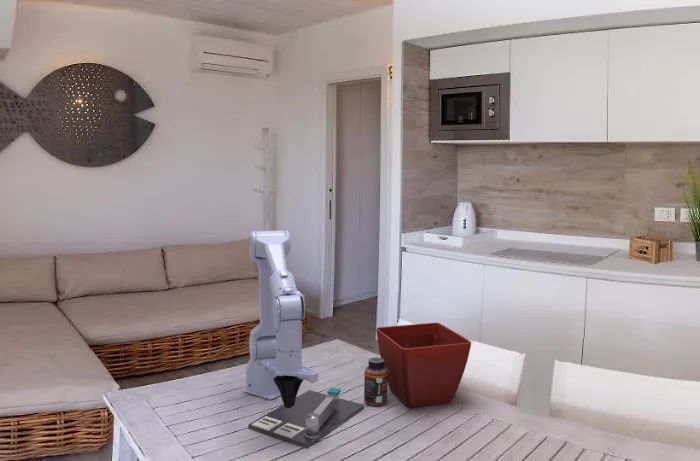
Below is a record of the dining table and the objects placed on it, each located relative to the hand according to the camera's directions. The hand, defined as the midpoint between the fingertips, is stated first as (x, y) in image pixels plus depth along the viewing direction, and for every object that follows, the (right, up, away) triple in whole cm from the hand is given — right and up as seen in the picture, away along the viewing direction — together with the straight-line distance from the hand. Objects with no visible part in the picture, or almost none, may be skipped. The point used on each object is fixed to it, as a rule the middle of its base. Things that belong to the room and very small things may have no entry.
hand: (289, 406), depth 133 cm
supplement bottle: (+20, -5, +19) cm, 28 cm away
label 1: (-6, -6, +4) cm, 9 cm away
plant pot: (+32, -4, +23) cm, 40 cm away
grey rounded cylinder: (+5, -7, -1) cm, 9 cm away
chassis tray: (+4, -6, +9) cm, 12 cm away
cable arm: (+8, -4, +7) cm, 12 cm away
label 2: (0, -7, +1) cm, 7 cm away
